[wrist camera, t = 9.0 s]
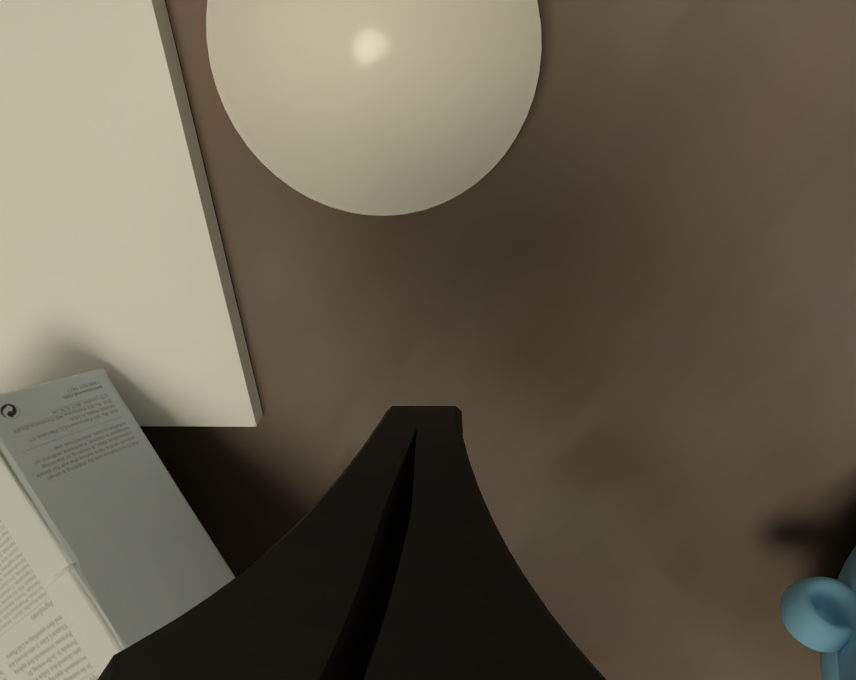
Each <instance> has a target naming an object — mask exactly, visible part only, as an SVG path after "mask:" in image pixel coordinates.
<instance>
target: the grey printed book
mask: <svg viewBox="0 0 856 680" xmlns="http://www.w3.org/2000/svg"><path fill="white" fill-rule="evenodd" d="M234 578H235V576H234V575H233V573H232V571H231V570H230V568H229V567H228V565H227V564H226V562H225V560H224V559H223V557H222V556H221V554H220V553H219V551H218V549H217V548H216V546H215V545H214V543H213V542H212V540H211V539H210V537H209V535H208V534H207V532H206V531H205V529H204V528H203V526H202V524H201V523H200V521H199V520H198V518H197V517H196V515H195V513H194V512H193V510H192V509H191V507H190V506H189V504H188V502H187V501H186V499H185V498H184V496H183V495H182V493H181V491H180V490H179V488H178V487H177V485H176V484H175V482H174V480H173V479H172V477H171V476H170V474H169V472H168V471H167V469H166V468H165V466H164V464H163V463H162V461H161V460H160V458H159V457H158V455H157V453H156V452H155V450H154V449H153V447H152V445H151V444H150V442H149V441H148V439H147V437H146V436H145V434H144V433H143V431H142V430H141V428H140V426H139V425H138V423H137V422H136V420H135V418H134V417H133V415H132V414H131V412H130V411H129V409H128V408H127V406H126V405H125V403H124V401H123V400H122V398H121V397H120V395H119V394H118V392H117V390H116V389H115V387H114V385H113V384H112V382H111V381H110V379H109V377H108V376H107V373H106V370H105V369H97V370H93V371H89V372H85V373H81V374H78V375H74V376H70V377H66V378H62V379H58V380H54V381H50V382H46V383H42V384H38V385H34V386H30V387H26V388H22V389H18V390H14V391H9V392H5V393H1V394H0V680H97V679H98V678H99V676H100V675H101V673H102V672H103V670H104V669H105V667H106V666H107V664H108V663H109V661H110V660H111V658H112V657H113V655H115V654H117V653H118V652H120V651H122V650H124V649H126V648H127V647H129V646H131V645H133V644H134V643H136V642H138V641H139V640H141V639H143V638H144V637H146V636H148V635H150V634H151V633H153V632H155V631H156V630H158V629H160V628H161V627H163V626H165V625H167V624H168V623H170V622H172V621H173V620H175V619H176V618H178V617H180V616H181V615H183V614H184V613H186V612H187V611H189V610H190V609H192V608H193V607H195V606H196V605H198V604H199V603H201V602H202V601H204V600H205V599H207V598H208V597H210V596H211V595H212V594H214V593H215V592H217V591H218V590H219V589H221V588H222V587H223V586H225V585H226V584H228V583H229V582H230V581H232V580H233V579H234Z"/></svg>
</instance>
